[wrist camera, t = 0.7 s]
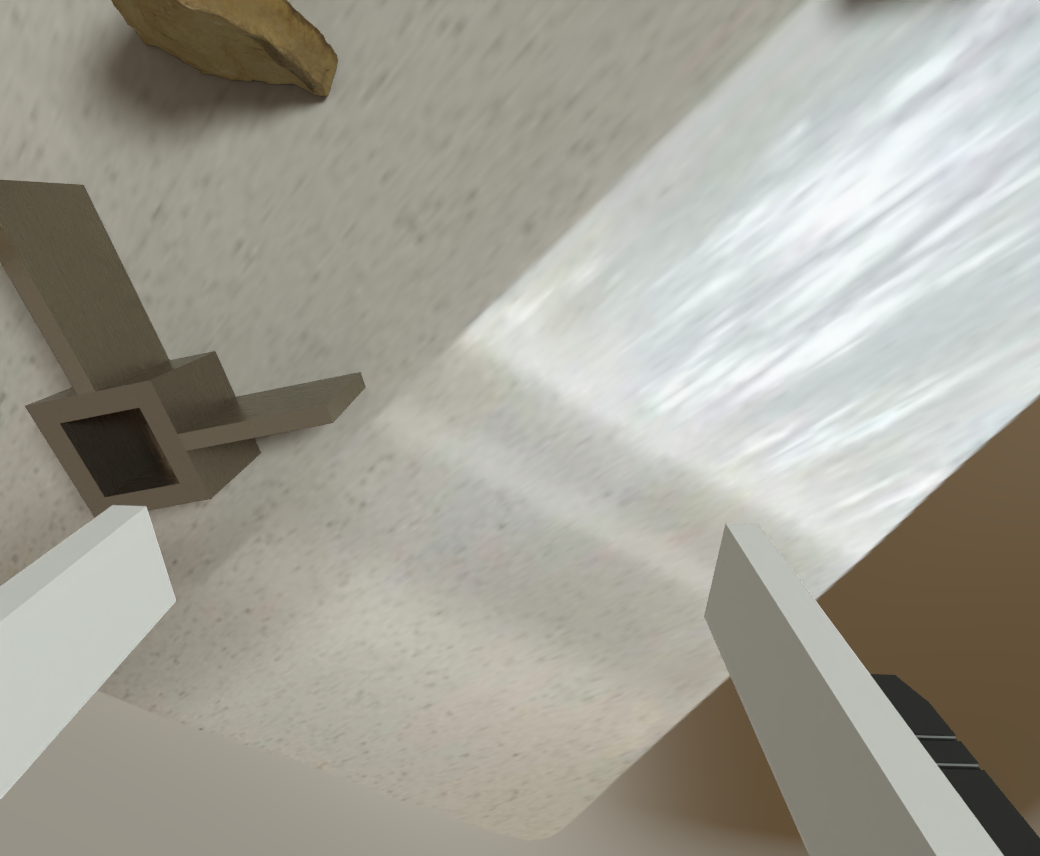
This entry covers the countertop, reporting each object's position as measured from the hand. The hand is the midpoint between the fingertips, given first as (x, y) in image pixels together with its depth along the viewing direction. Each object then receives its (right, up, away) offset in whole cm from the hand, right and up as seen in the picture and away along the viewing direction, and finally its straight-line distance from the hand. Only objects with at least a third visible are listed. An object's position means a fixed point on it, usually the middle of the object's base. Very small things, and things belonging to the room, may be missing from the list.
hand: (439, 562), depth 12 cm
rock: (-14, +26, +18) cm, 35 cm away
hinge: (-20, +10, +25) cm, 34 cm away
